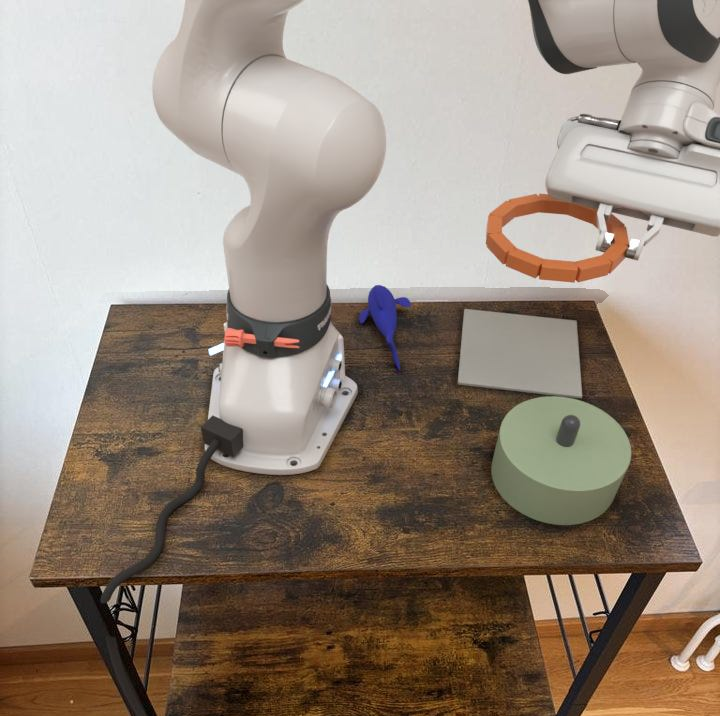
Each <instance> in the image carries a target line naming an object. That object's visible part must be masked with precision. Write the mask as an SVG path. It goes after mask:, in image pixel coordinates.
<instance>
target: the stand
mask: <svg viewBox="0 0 720 716" xmlns="http://www.w3.org/2000/svg"><path fill="white" fill-rule="evenodd" d="M630 442H631V441H630V440H629V438H628V435H627V434H626V431H625V430H624V429H623V427H622V426H621V425H620V424H619V423H618V421H616V419H615V418H613V417H612V416H611V415H610V414H608V413H607V412H605V411H604V410H603V409H600V408H599V407H597V406H595V405H594V404H591V403H588V402H586V401H583V400H579V399H577V398H571V397H563V396H554V395H546V396H538V397H533V398H531V399H527V400H525V401H522V402H520V403H518V404H516V405H515V406H514V407H513V408H512V409H510V410H509V411H508V412H507V413H506V415H505V416H504V418H503V419H502V421H501V424H500V427H499V431H498V435H497V440H496V444H495V448H494V452H493V457H492V460H491V468H490V469H491V471H490V472H491V473H490V474H491V478H492V482H493V484H494V487H495V489H496V490H497V492H498V494H499V496H501V498H502V499H503V500H504V501H505V502H506V503H507V504H508V505H509V506H510V507H512V508H513V509H514V510H516V511H517V512H519V513H520V514H522V515H524V516H526V517H528V518H530V519H532V520H535V521H537V522H541V523H544V524H549V525H554V526H575V525H580V524H585V523H588V522H590V521H593V520H595V519H597V518H599V517H601V515H603V514H604V513H605V512H606V511H607V510H608V509H609V508H610V507H611V505H612V504H613V502H614V500H615V497H616V495H617V493H618V491H619V488H620V486H621V484H622V482H623V480H624V477H625V476H626V473H627V471H628V469H629V466H630V464H631V460H632V446H631V443H630Z"/></svg>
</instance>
